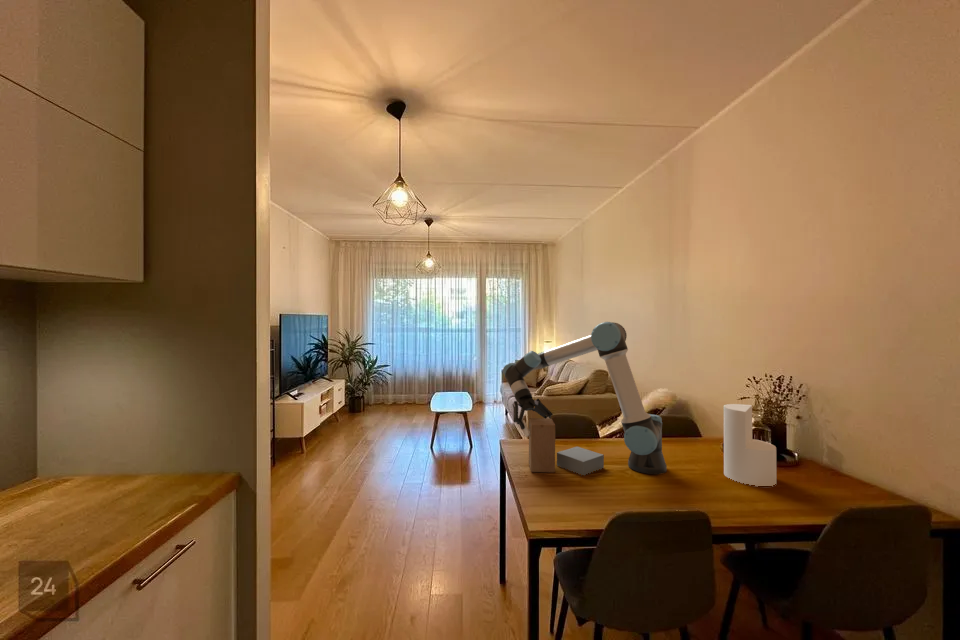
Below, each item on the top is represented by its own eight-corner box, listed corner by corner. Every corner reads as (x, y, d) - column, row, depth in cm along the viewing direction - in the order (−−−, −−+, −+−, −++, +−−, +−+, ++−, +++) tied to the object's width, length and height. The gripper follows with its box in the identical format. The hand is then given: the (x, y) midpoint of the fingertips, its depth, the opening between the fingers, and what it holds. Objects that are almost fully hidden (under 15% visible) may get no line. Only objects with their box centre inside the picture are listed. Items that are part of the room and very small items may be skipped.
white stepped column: (719, 478, 151) (719, 408, 152) (728, 466, 164) (727, 402, 164) (774, 491, 139) (773, 415, 140) (778, 477, 152) (778, 408, 153)
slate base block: (603, 468, 161) (603, 454, 161) (583, 476, 153) (583, 461, 153) (577, 459, 172) (577, 446, 172) (556, 466, 164) (556, 452, 164)
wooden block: (555, 473, 155) (555, 424, 155) (530, 472, 155) (531, 424, 155) (551, 463, 165) (551, 418, 165) (528, 463, 165) (528, 417, 165)
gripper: (539, 395, 183) (559, 434, 169) (495, 399, 172) (513, 441, 158) (546, 385, 178) (567, 425, 165) (501, 389, 167) (520, 432, 153)
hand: (541, 433), depth 161 cm, fingers closed on wooden block, 12 cm apart
